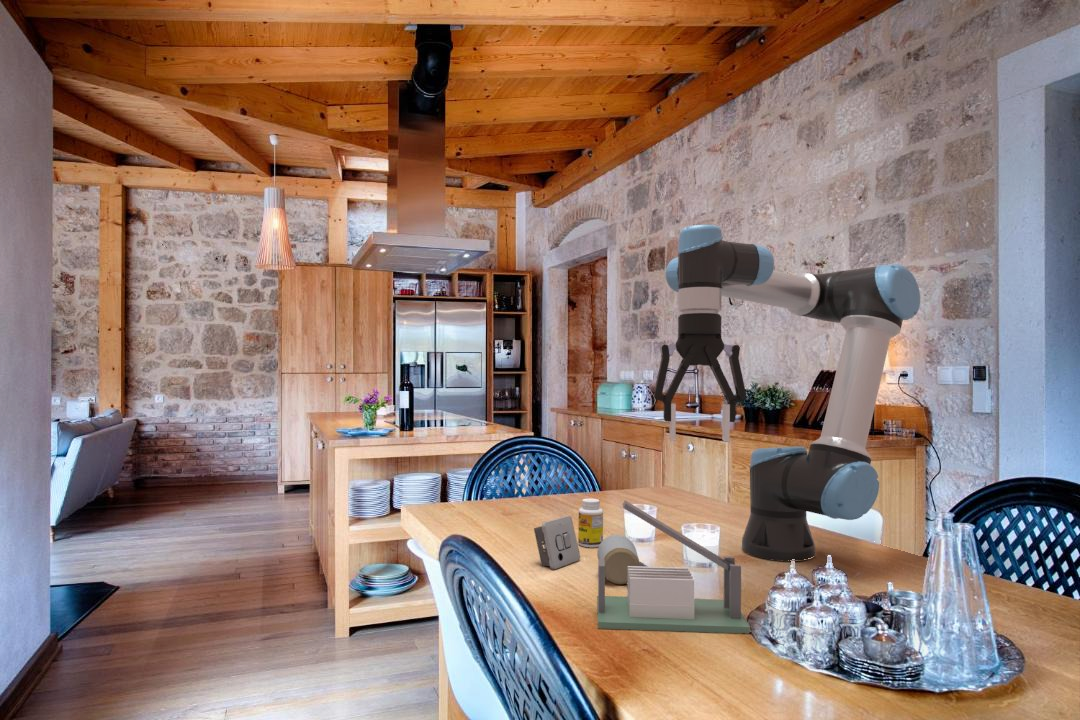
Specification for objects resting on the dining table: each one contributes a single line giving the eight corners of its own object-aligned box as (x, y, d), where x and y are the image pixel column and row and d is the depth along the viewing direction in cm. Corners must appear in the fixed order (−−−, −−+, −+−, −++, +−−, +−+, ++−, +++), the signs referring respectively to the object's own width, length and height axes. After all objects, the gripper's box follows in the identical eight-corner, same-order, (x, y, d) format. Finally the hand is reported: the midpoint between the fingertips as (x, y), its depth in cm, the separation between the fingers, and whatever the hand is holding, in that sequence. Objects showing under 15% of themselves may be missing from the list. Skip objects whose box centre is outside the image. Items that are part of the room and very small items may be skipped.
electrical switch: (554, 571, 133) (550, 523, 133) (533, 568, 136) (530, 522, 137) (581, 561, 140) (578, 515, 141) (561, 558, 143) (558, 514, 144)
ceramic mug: (601, 586, 124) (602, 544, 124) (596, 572, 132) (597, 533, 132) (658, 587, 124) (659, 545, 124) (650, 574, 132) (651, 534, 132)
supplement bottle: (574, 543, 154) (574, 498, 154) (595, 541, 156) (596, 496, 156) (585, 549, 149) (585, 503, 149) (607, 546, 151) (607, 501, 151)
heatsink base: (733, 605, 114) (733, 551, 114) (750, 633, 102) (750, 572, 102) (597, 601, 115) (597, 547, 115) (598, 628, 103) (598, 568, 104)
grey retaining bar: (732, 572, 109) (737, 564, 109) (736, 578, 106) (741, 569, 106) (621, 506, 111) (626, 498, 111) (622, 510, 108) (627, 501, 108)
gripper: (755, 315, 123) (755, 439, 122) (637, 315, 124) (636, 437, 124) (766, 311, 115) (766, 443, 115) (640, 311, 117) (639, 441, 116)
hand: (699, 440), depth 119 cm, fingers open, 9 cm apart
